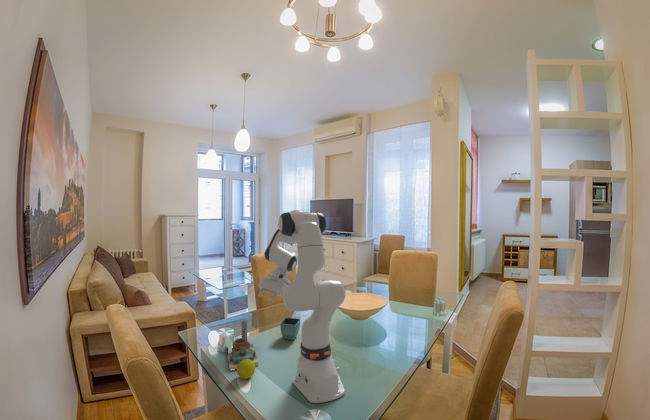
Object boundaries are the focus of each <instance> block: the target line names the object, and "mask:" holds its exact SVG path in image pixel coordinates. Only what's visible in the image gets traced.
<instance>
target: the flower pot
mask: <svg viewBox="0 0 650 420" xmlns="http://www.w3.org/2000/svg"><path fill="white" fill-rule="evenodd" d="M279 326H280V332H281V333H280V334H281V336H282V338H283V339H284V340H290V341H294V340H296V339H295V338H297V336H298V333H299V331H300V327H301V318H296V317H295V318H294V317H293V318H292V317H284V318H283V319H282V320H281V322H280V323H279Z"/></svg>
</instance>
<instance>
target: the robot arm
mask: <svg viewBox="0 0 650 420" xmlns="http://www.w3.org/2000/svg"><path fill="white" fill-rule="evenodd" d="M277 226H278V228H277V229H276V231H275V232H274V234H273V235H272V237H271V239H270V242H269V244H268V246H267V247H266V249H265V250H264V254H263V255H264V258H265V260H266V261H269V262H271V263H273V264H275V266H276V267H275V268H274V269H273V271H272V272H271V274H267V275H265V276H264V277H263V278H262V279H261V280H260V281H259V283H258V284H257V286H258V288H259V293H258V294H257V296H258V297H259V298H262V296H263V293H264V292H269V293H271V294H272V295H269V296H268V297H267V300H268V301H269V302H272V300H273V299H274V298H276V297H277V296H280V297H282V301H283V304H284V306H285V307H286V309H287V310H288V311H289V312H290V311H292V312H307V311H313V310H314V311H313V312H312V313H311V314H310V315H309V316H308V317H306V318H305V319H304V320H303V322H302V325H301V342H300V346H299V349H300V356H299V357H298V359H297V360H296V373H295V375H296V376H295V377H293V379H292V384H293V385H294V386H295V387H296V388H297V389H298V391H299V392H301V394H302V395H303V396H304V397H305V398H306V399H307V401H308V402H309V403H313V404H314V403H315V404H320V403H322V404H323V403H326V402H331V401H335V400H337V399H339V398H341V397H343V396H344V395H345V393H346V391H345V388H344V385H343V383H342V380H341V378H340V375H339V374H340V373H341V368H340V366H337V367H336V359H334V358H333V354H332V347H331V342H330V325H331V321H332V318H333V316H334V315H335V312H336V311H337V310H338V308H339V307H340V306H341V305H342V304H343V303H344V301H345V300H346V295H347V294H346V289H345V286H344V284H343V283H342V282H341V281H339V280H334V279H325V280H315V281H314V277H315V274H317V273H318V272H320V271H321V270H323V268H324V267H325V265H326V257H325V248H324V239H323V235H322V234H323V233H324V232H325V231H326V229H327V220H326V216H325V215H324V214H323V213H321V212H317V211H316V212H310V211H302V210H300V209H294V210H291V211H288V212H283V213H281V214H280V216H279V218H278V222H277ZM280 243H284V244H287V245H288V244H289V245H295V244H296V245H297V246H296V247H297V248H296V249H297V254H296V253H295V252H294V251H288V250H287V249H285V248H283V247H281V246H280V245H279V244H280ZM296 266H297V271H296V274H295V276H294V278H293V279H292V281H291V280H289V279H288V277H289V276H290V275H289V274H290V273H291V272H292V271H293V270H294V269H295V267H296Z"/></svg>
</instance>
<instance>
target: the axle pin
mask: <svg viewBox="0 0 650 420" xmlns="http://www.w3.org/2000/svg"><path fill="white" fill-rule="evenodd" d="M240 326H241V338H245V339H247V340H248V320H241V325H240Z"/></svg>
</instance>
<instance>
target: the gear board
mask: <svg viewBox="0 0 650 420" xmlns="http://www.w3.org/2000/svg"><path fill="white" fill-rule="evenodd" d="M232 344H233V348H232V352H231V353H228V355H227V362H228V361H229V363H228V367H229V368H228V370H229V369H230V370H231V369H237V367H238V364H239V363H240V362H241V361H242V360H245V359H250V360H252V361H253V362H254V364H255V367H258V366H259V360H258V357H257V354H256V350H255V346H254V344H253V341H252V340H249V341H248V338H247V339H245V338H242V337H241V338H237V339H234V340H233V343H232Z"/></svg>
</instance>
